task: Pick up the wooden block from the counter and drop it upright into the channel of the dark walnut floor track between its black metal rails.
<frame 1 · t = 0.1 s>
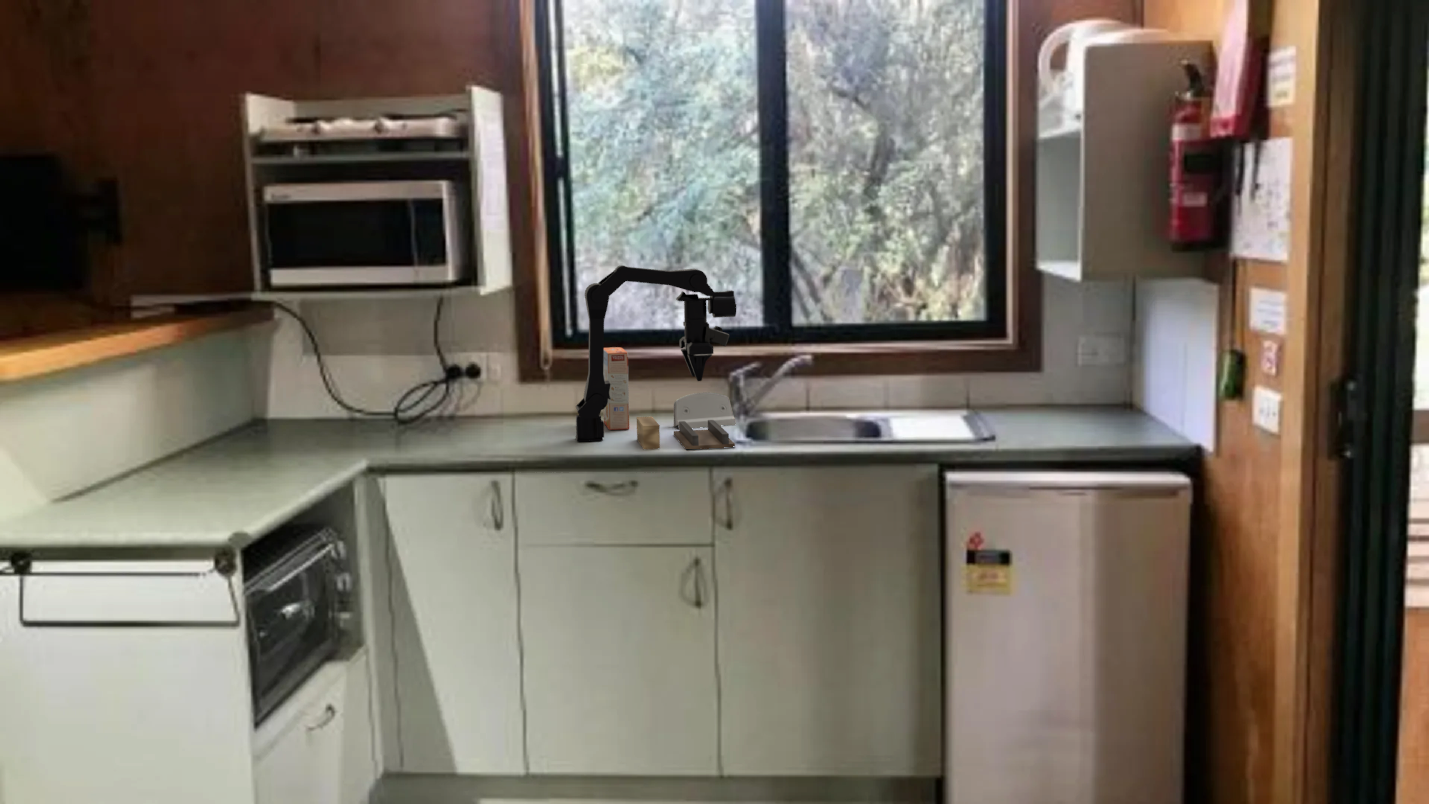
hand: (696, 378, 343), 15 cm above the countertop, fingers open, 9 cm apart
wooden block: (648, 444, 333), on the countertop
cracker box: (616, 426, 361), on the countertop
floor track: (703, 441, 336), on the countertop
grey upright panel: (703, 426, 360), on the countertop
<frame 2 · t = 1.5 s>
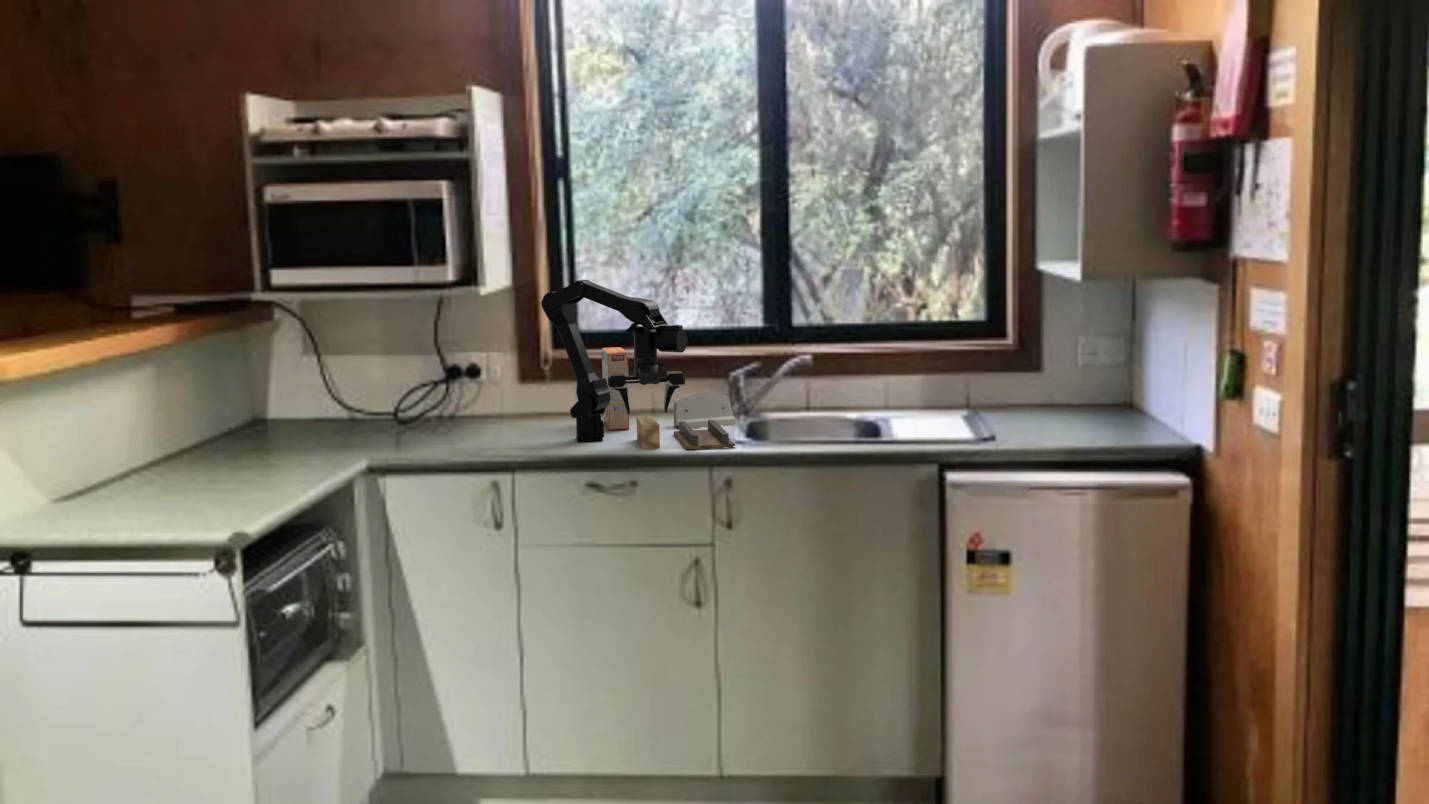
hand: (647, 413, 332), 8 cm above the countertop, fingers open, 9 cm apart
nothing on the countertop moved.
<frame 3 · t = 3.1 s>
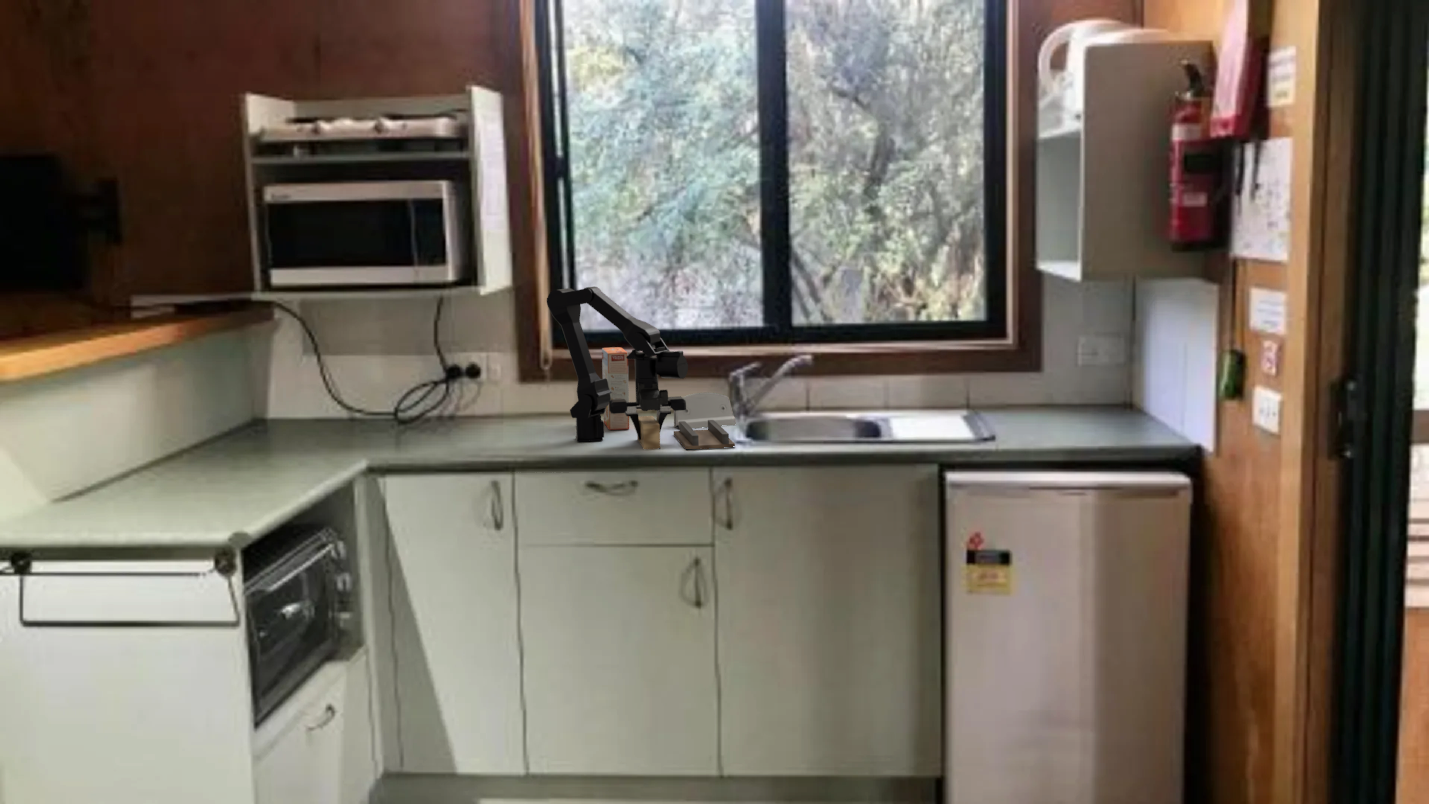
hand: (648, 439, 333), 1 cm above the countertop, fingers closed on wooden block, 4 cm apart
wooden block: (648, 444, 333), on the countertop, touching gripper
everything else where it was.
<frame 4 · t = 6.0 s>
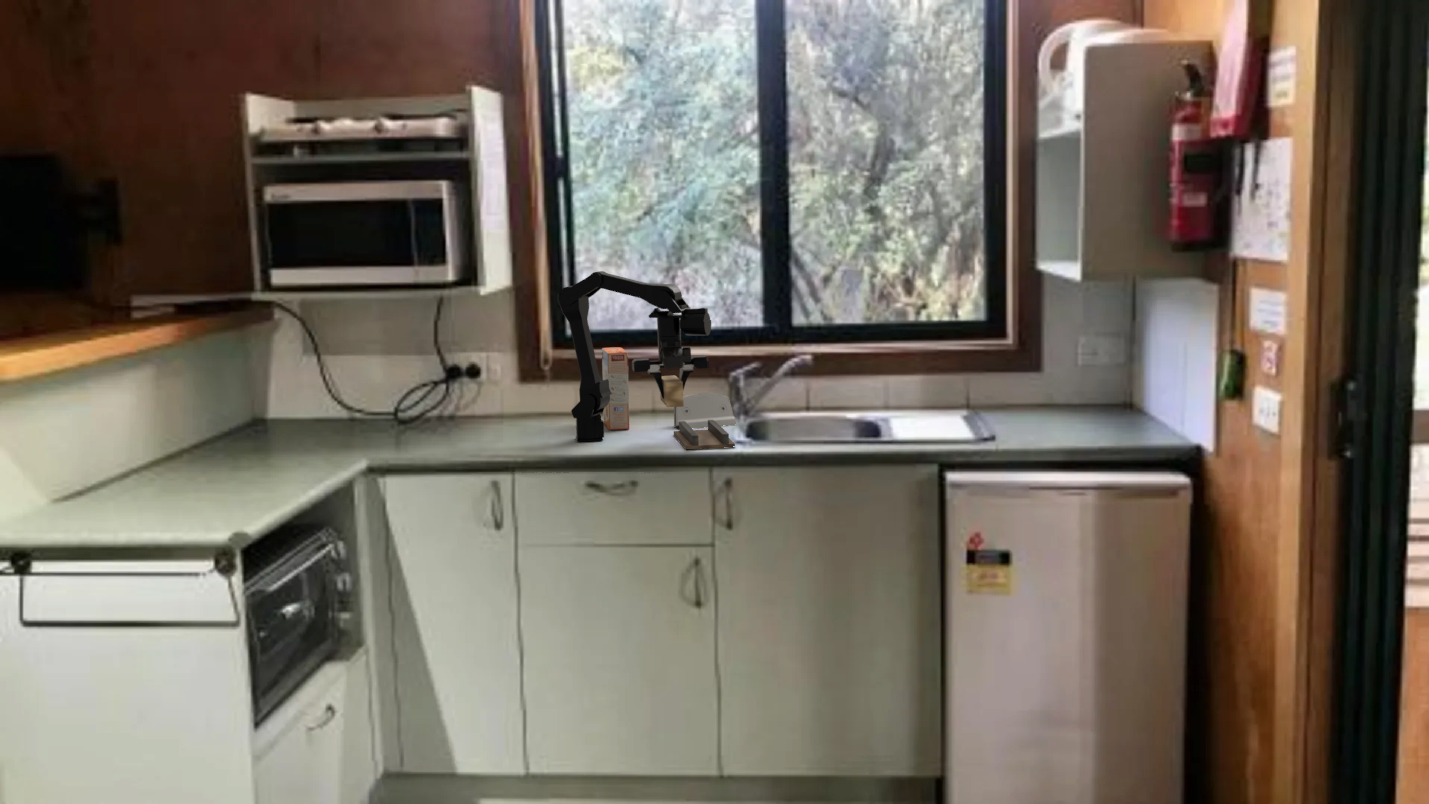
hand: (671, 397, 332), 11 cm above the countertop, fingers closed on wooden block, 4 cm apart
wooden block: (671, 402, 333), point 10 cm above the countertop, touching gripper
everything else where it was.
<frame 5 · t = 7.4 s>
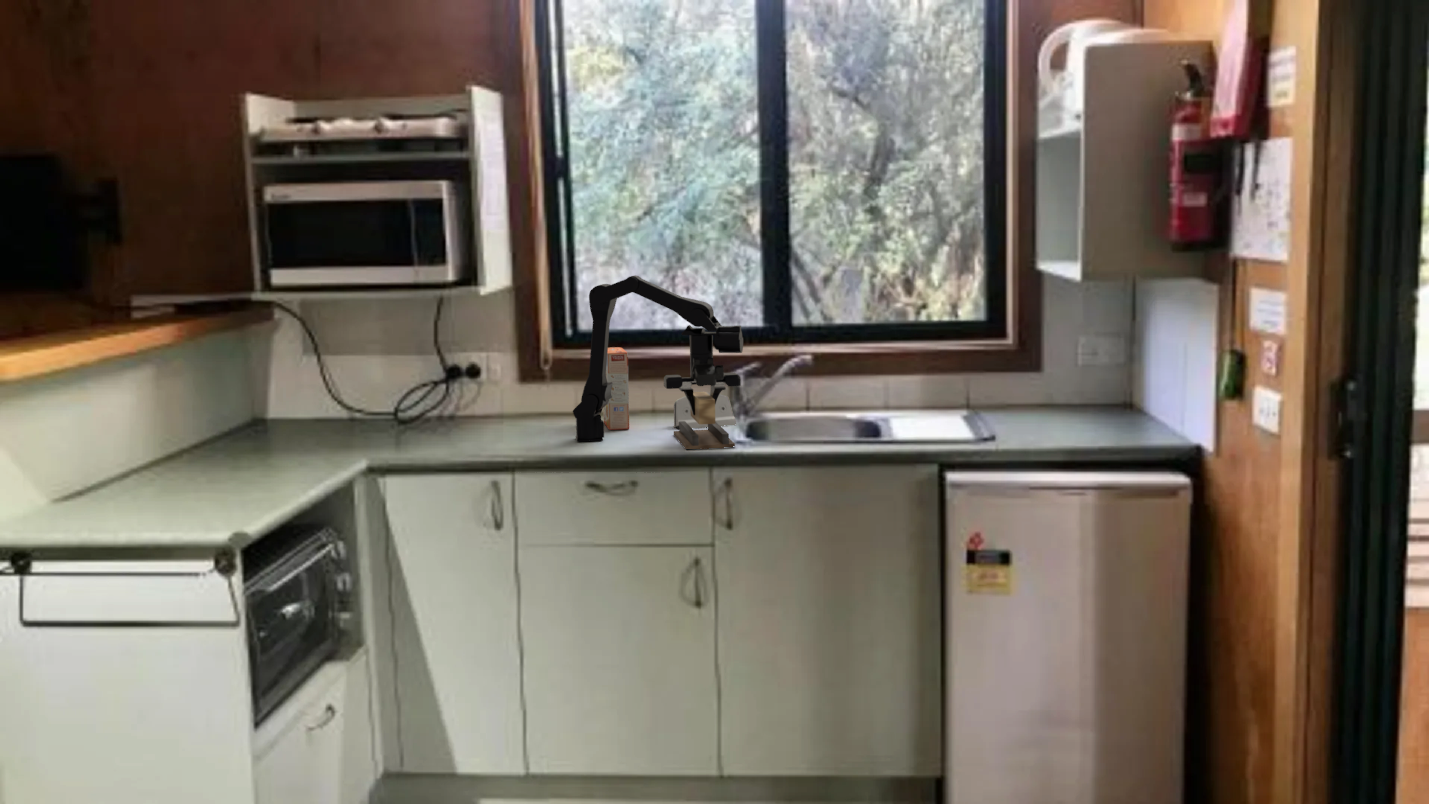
hand: (702, 414, 335), 7 cm above the countertop, fingers closed on wooden block, 4 cm apart
wooden block: (702, 419, 335), point 6 cm above the countertop, touching gripper
everything else where it was.
when the fingers open (5 cm above the countertop, at t = 8.8 s): wooden block drops 2 cm, resting on floor track.
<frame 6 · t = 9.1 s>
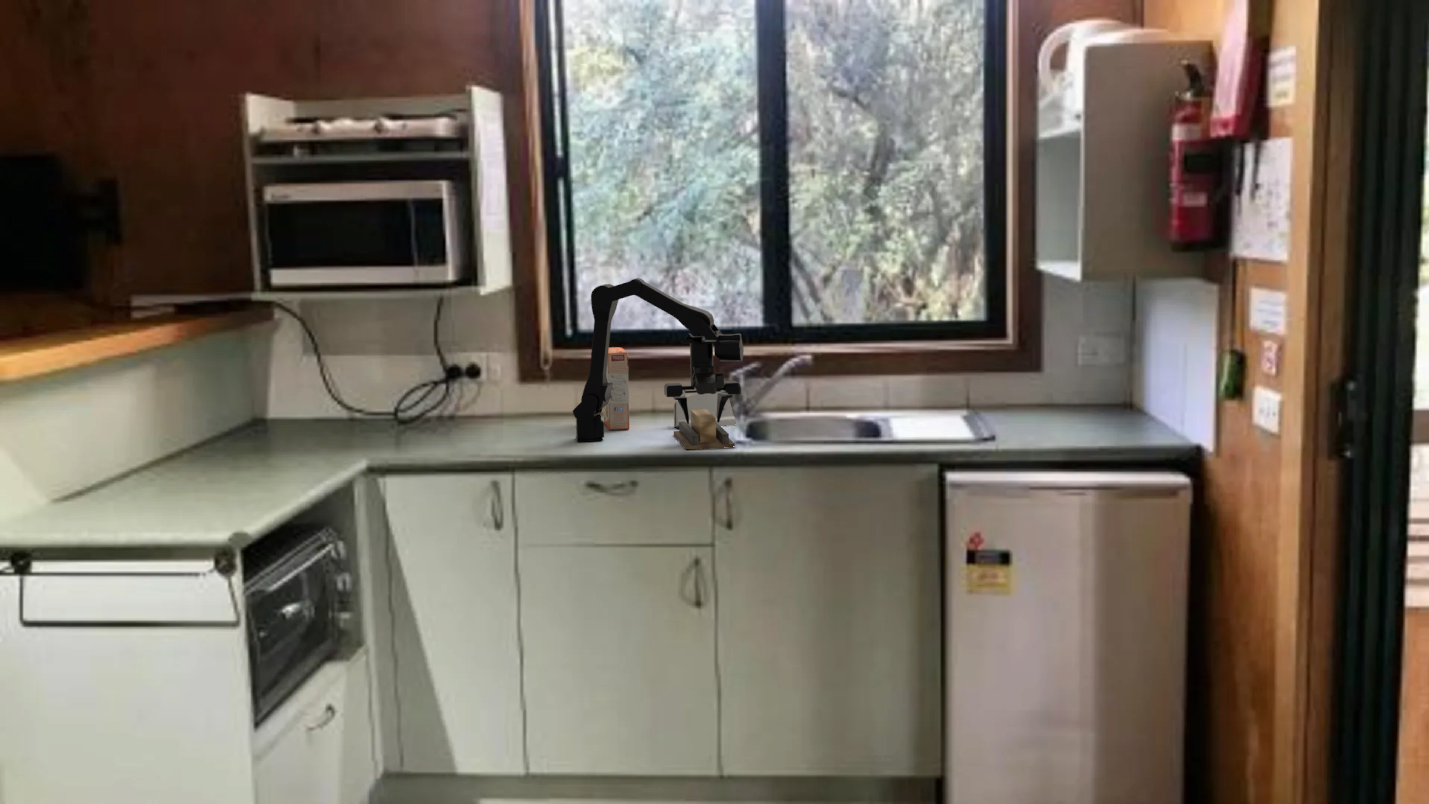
hand: (703, 422, 335), 5 cm above the countertop, fingers open, 7 cm apart
wooden block: (703, 437, 336), point 1 cm above the countertop, touching floor track
everything else where it was.
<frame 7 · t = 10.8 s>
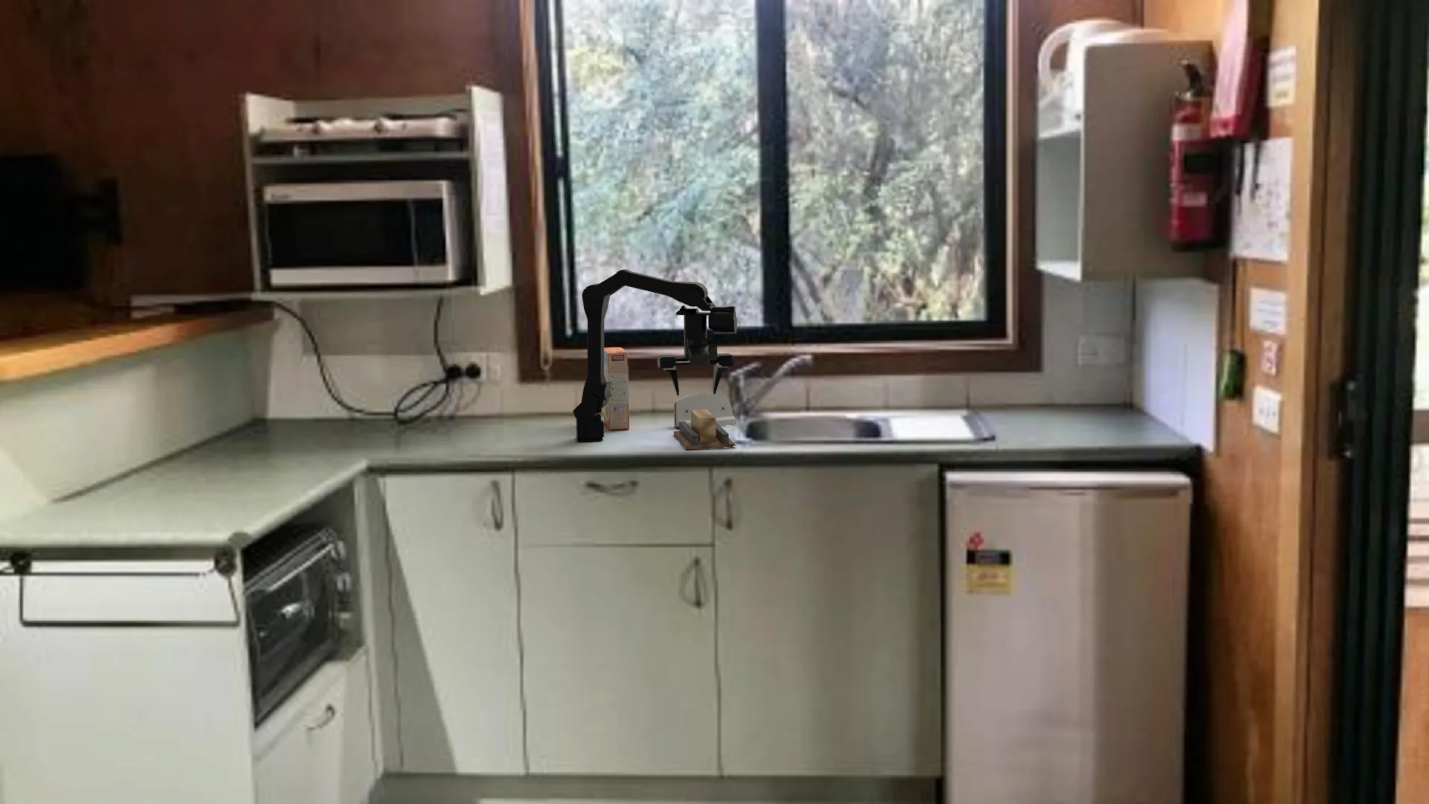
hand: (696, 395, 335), 12 cm above the countertop, fingers open, 9 cm apart
nothing on the countertop moved.
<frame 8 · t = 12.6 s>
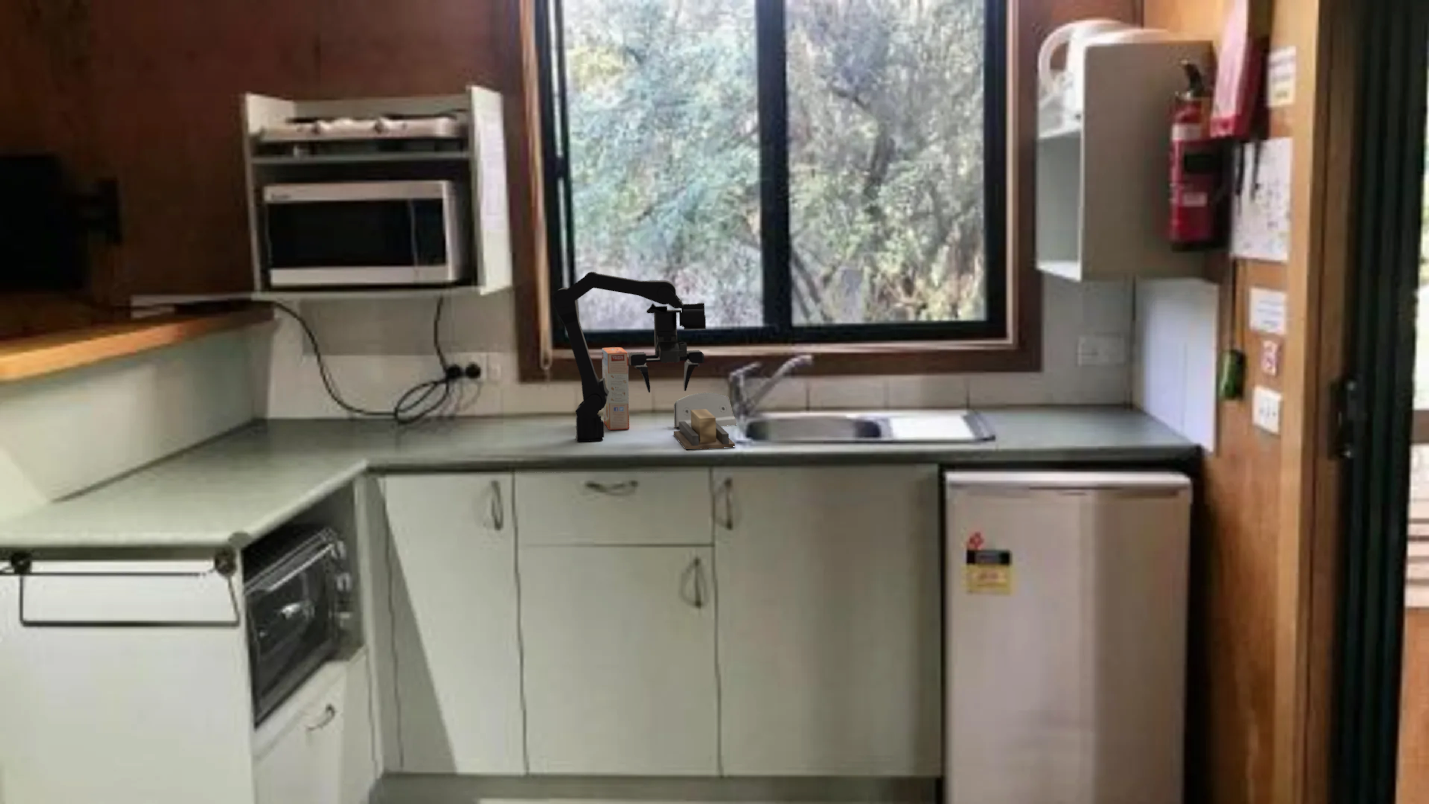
hand: (667, 391, 339), 12 cm above the countertop, fingers open, 9 cm apart
nothing on the countertop moved.
at the end: wooden block inside the target area on the floor track (0.0 cm from its centre), point 1.0 cm above the floor track's base; wooden block tilted 0°; the gripper is holding nothing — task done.
